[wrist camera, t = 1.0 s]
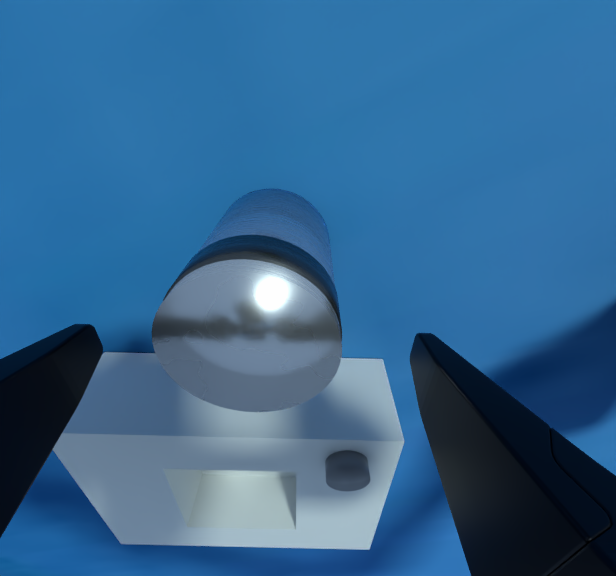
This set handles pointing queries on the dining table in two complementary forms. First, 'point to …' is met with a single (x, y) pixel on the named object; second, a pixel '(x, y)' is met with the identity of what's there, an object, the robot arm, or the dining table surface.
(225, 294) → the steel lens
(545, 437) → the robot arm
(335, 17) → the dining table surface
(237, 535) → the camera body
